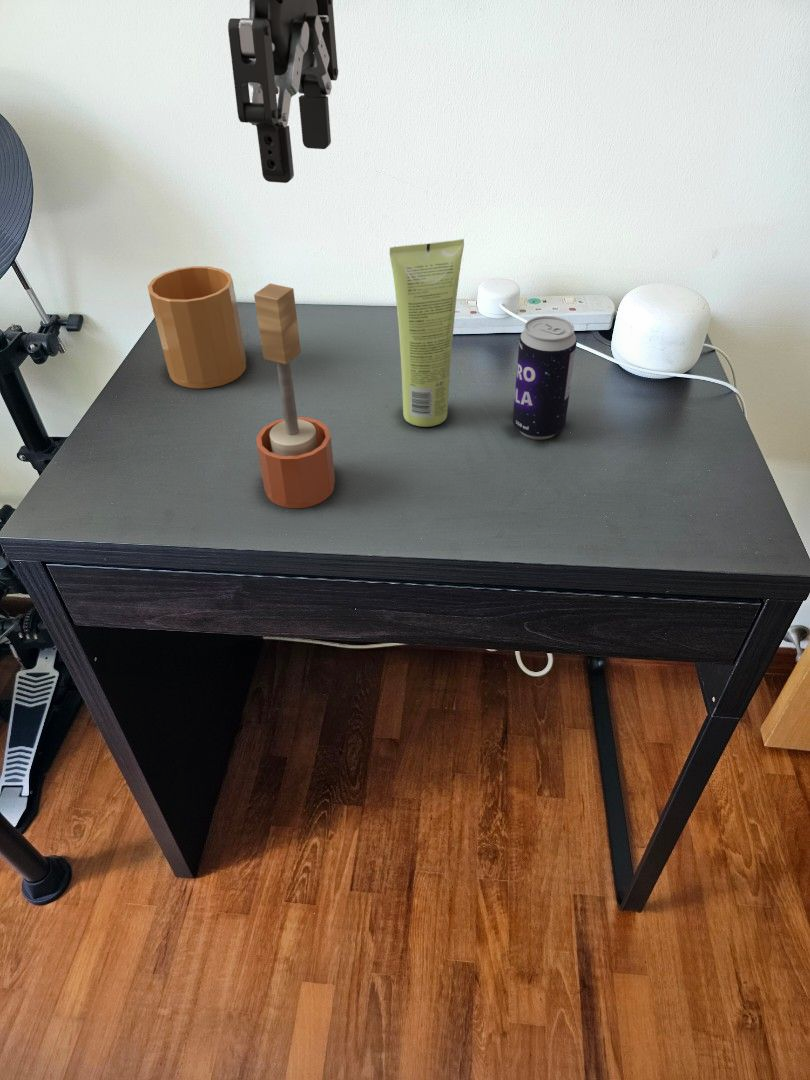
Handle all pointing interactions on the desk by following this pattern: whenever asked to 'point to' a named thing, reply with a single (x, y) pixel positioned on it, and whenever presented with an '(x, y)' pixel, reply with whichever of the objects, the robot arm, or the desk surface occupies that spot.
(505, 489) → the desk surface
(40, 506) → the desk surface
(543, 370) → the beverage can
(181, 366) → the orange pen cup
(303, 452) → the brush
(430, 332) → the tube
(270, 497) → the cup
